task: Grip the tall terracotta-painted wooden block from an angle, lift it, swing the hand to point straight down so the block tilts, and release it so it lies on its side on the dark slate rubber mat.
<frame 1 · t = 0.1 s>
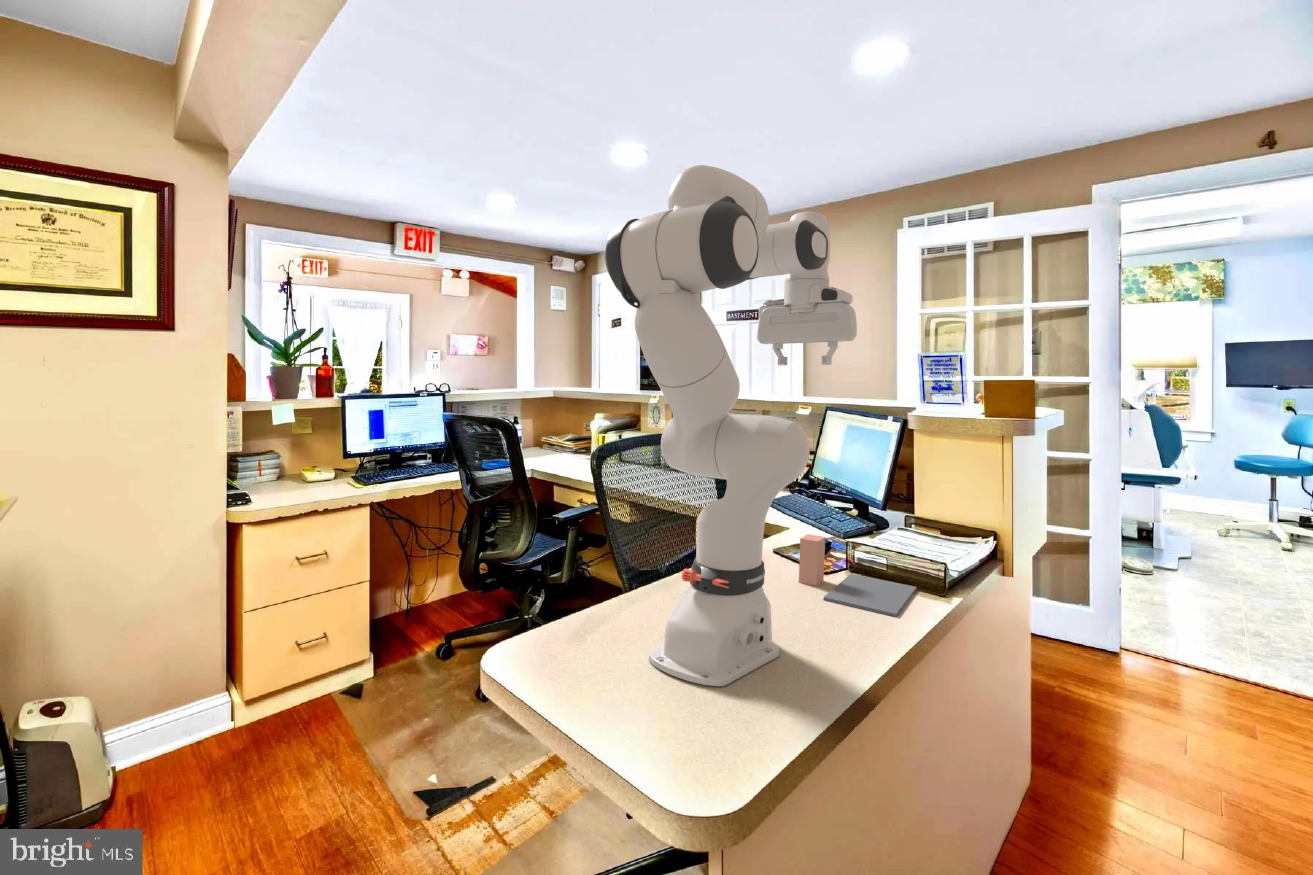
hand: (803, 365, 118), 48 cm above the table, fingers open, 8 cm apart
mat: (871, 594, 119), on the table
block: (811, 581, 127), on the table
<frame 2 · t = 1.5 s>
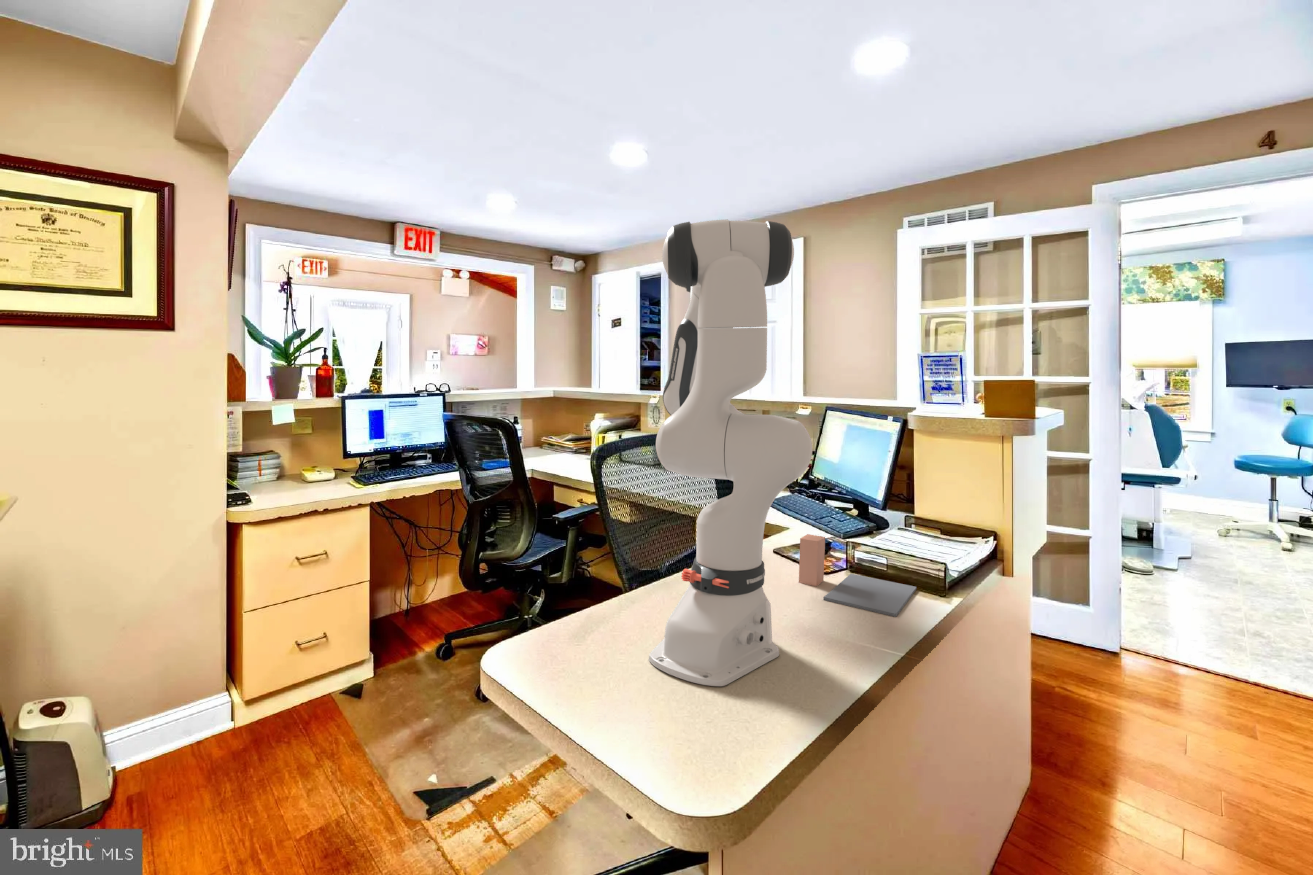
hand: (763, 471, 132), 24 cm above the table, fingers open, 8 cm apart
nothing on the table moved.
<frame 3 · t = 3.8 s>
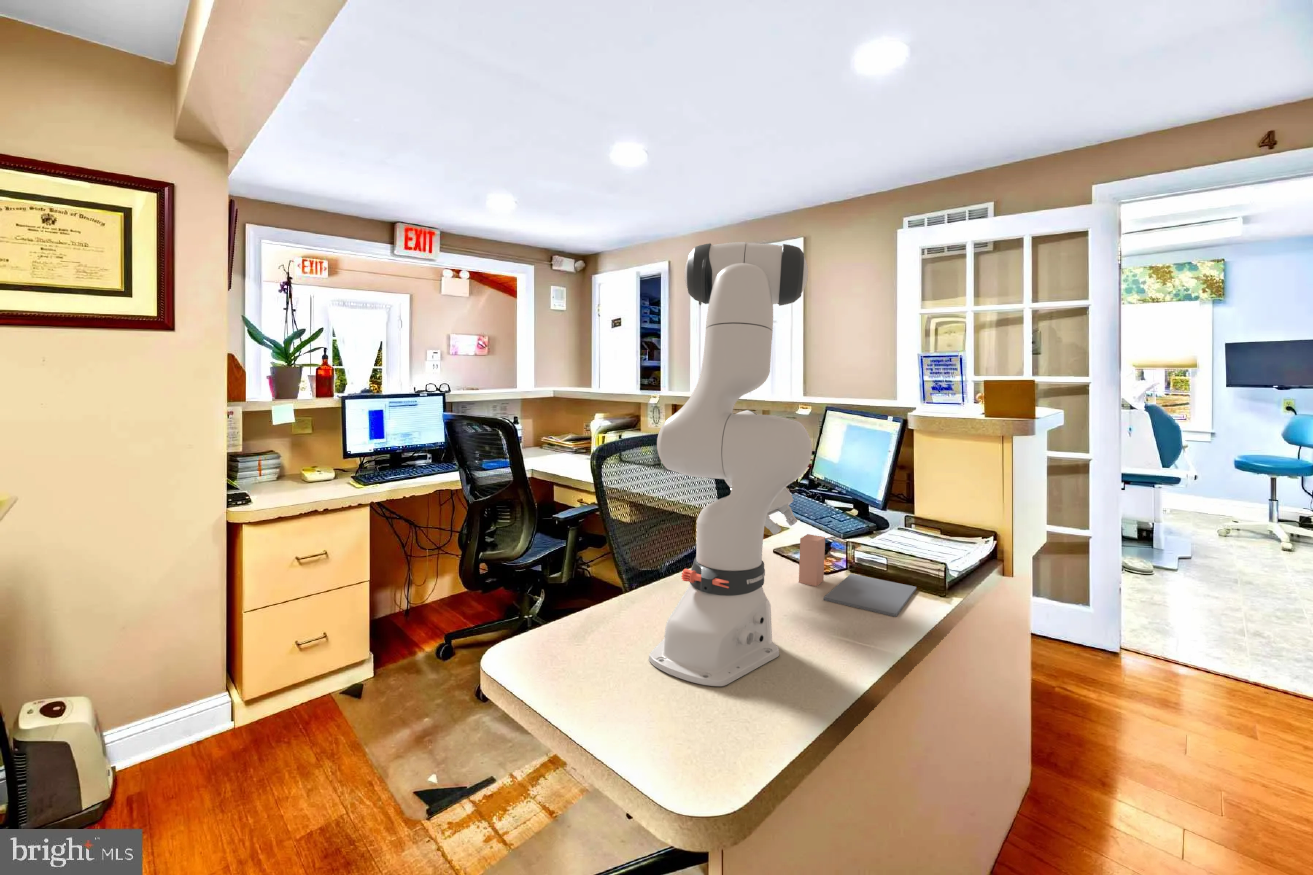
hand: (786, 527, 129), 11 cm above the table, fingers open, 8 cm apart
nothing on the table moved.
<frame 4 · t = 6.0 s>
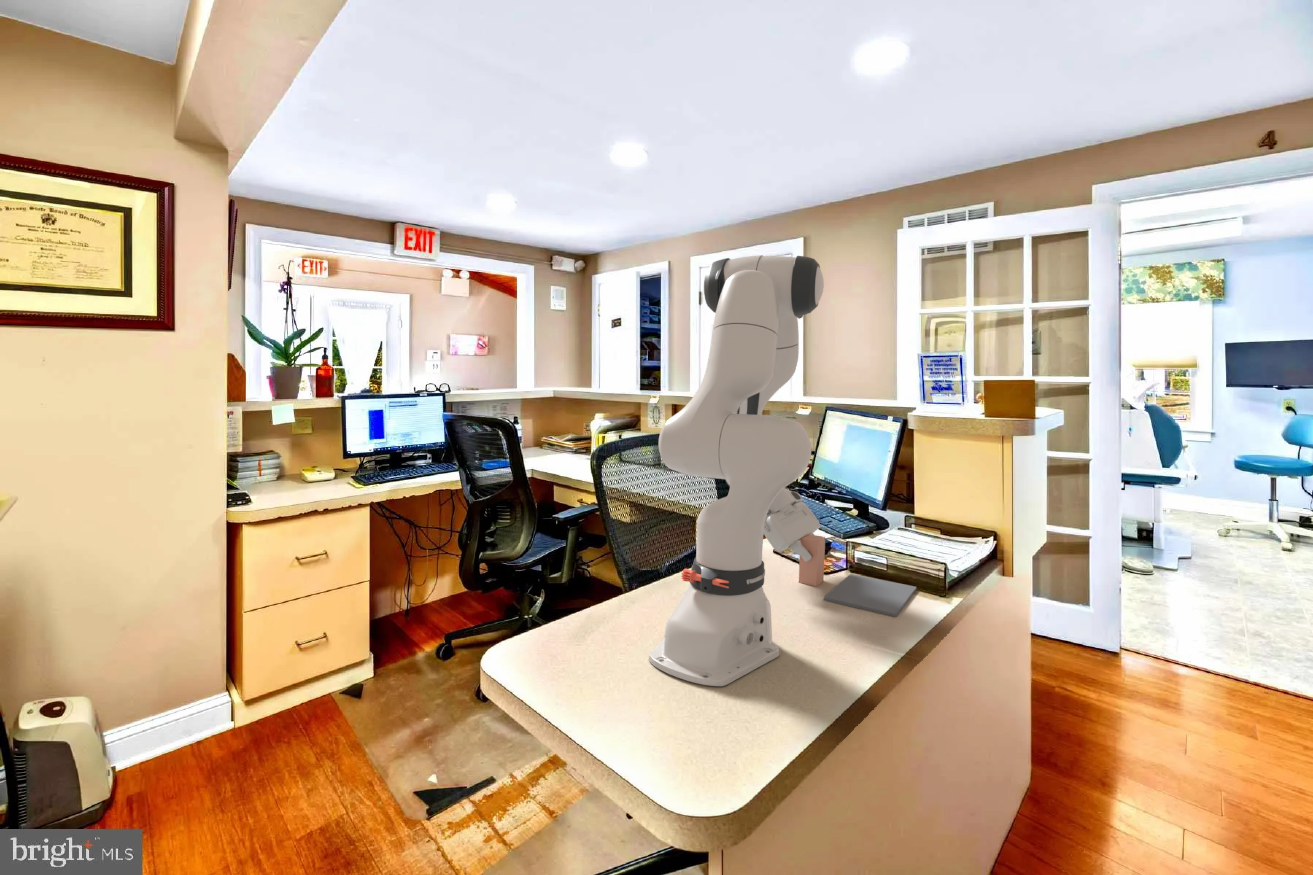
hand: (814, 556, 126), 6 cm above the table, fingers closed on block, 4 cm apart
block: (811, 581, 127), on the table, touching gripper
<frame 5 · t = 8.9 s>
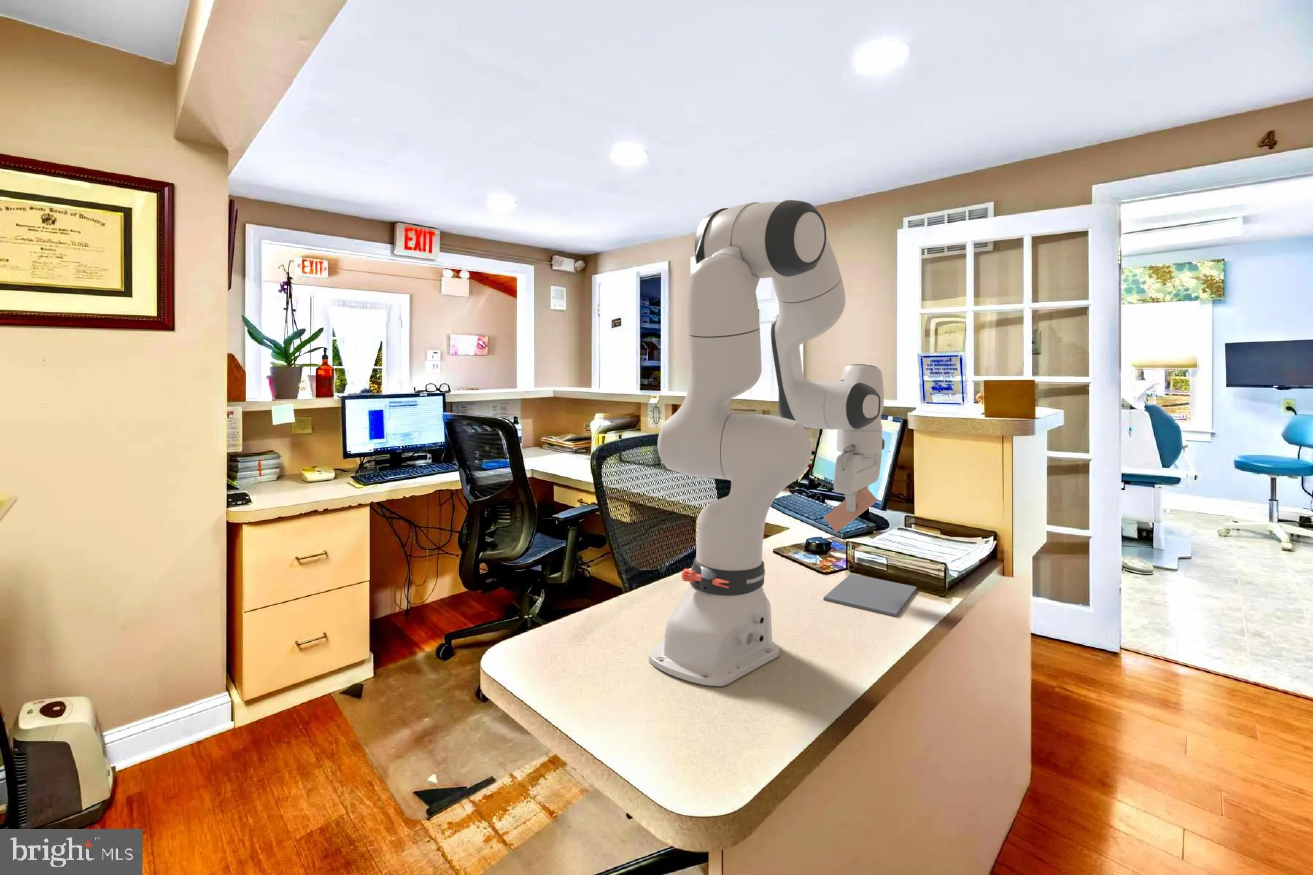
hand: (856, 508, 120), 18 cm above the table, fingers closed on block, 4 cm apart
block: (833, 522, 123), point 14 cm above the table, tilted 45°, touching gripper
when the fingers open (8 cm above the table, at t = 11.5 s): block drops 1 cm and tips over, resting on mat.
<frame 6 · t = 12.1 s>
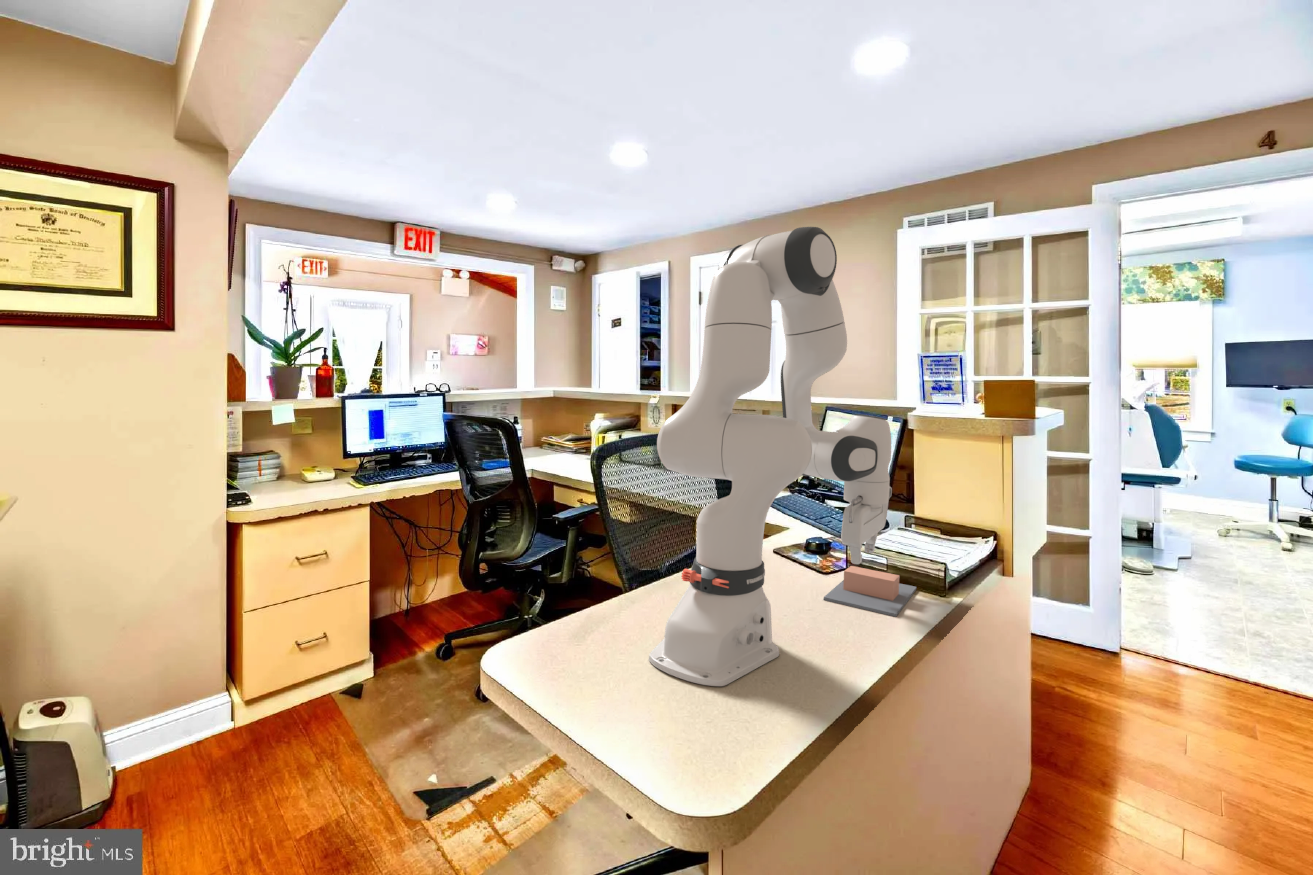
hand: (863, 557, 120), 8 cm above the table, fingers open, 8 cm apart
block: (847, 577, 122), point 3 cm above the table, tilted 90°, touching mat
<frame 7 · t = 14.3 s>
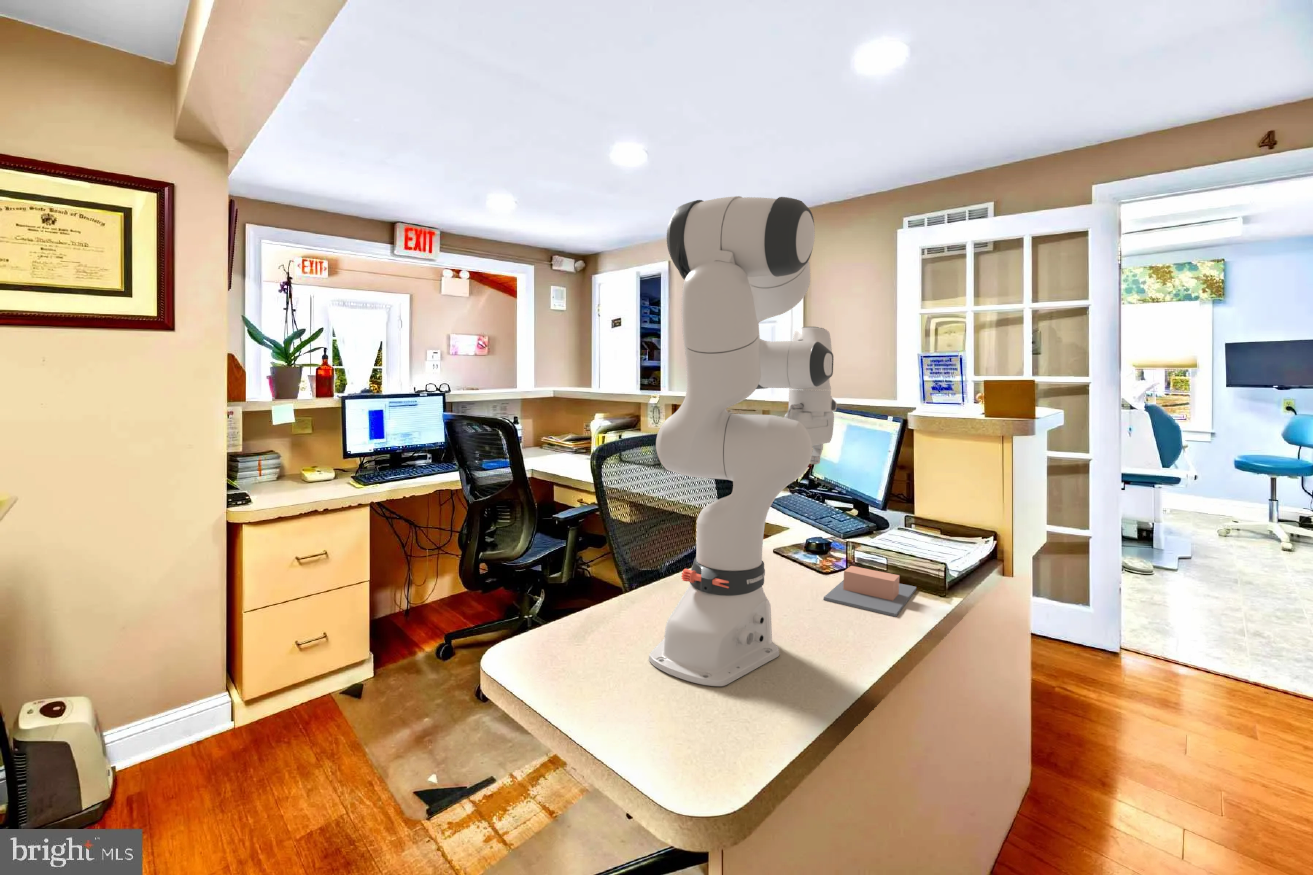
hand: (806, 466, 125), 26 cm above the table, fingers open, 8 cm apart
nothing on the table moved.
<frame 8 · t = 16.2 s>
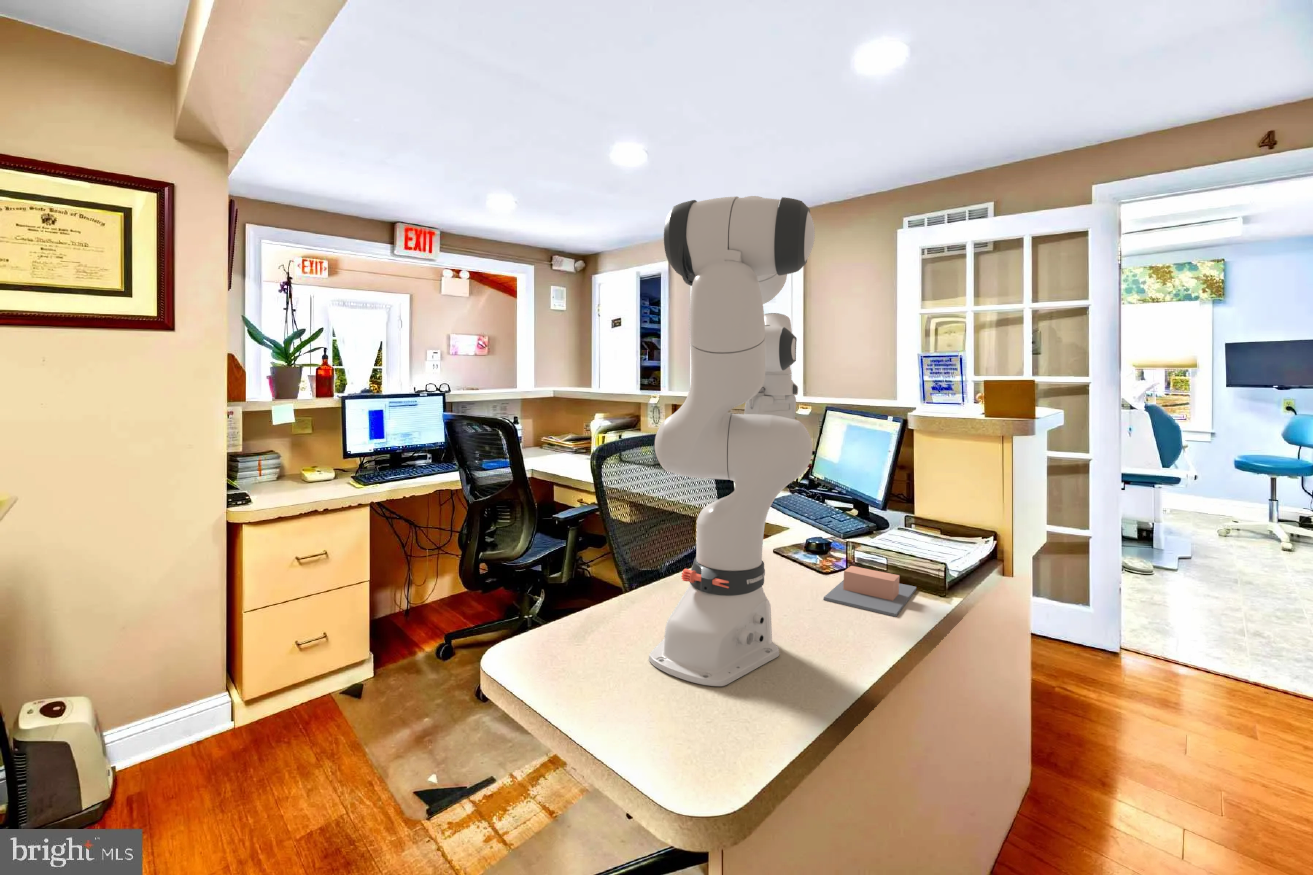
hand: (769, 448, 130), 29 cm above the table, fingers open, 8 cm apart
nothing on the table moved.
at the end: block tilted 90°; block inside the target area (4.6 cm from its centre), point 2.6 cm above the table; the gripper is holding nothing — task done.
